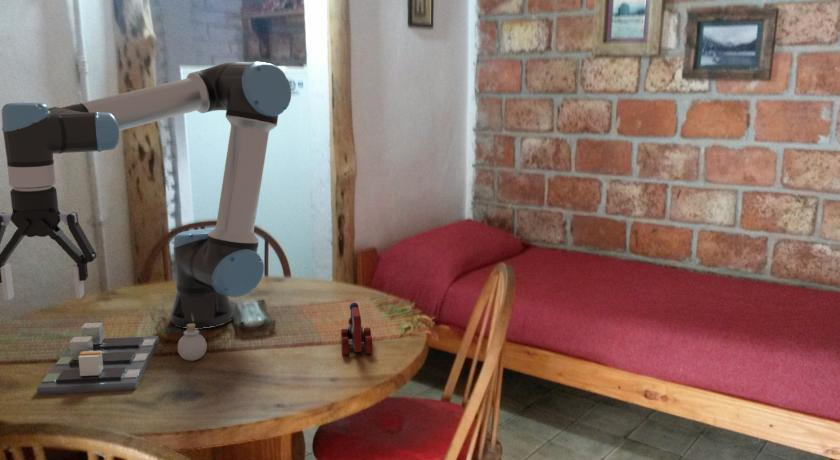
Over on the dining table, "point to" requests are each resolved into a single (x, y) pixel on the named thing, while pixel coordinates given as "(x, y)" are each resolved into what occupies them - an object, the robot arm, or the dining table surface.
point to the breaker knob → (90, 363)
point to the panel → (119, 363)
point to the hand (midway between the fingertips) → (45, 297)
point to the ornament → (192, 344)
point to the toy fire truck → (356, 334)
